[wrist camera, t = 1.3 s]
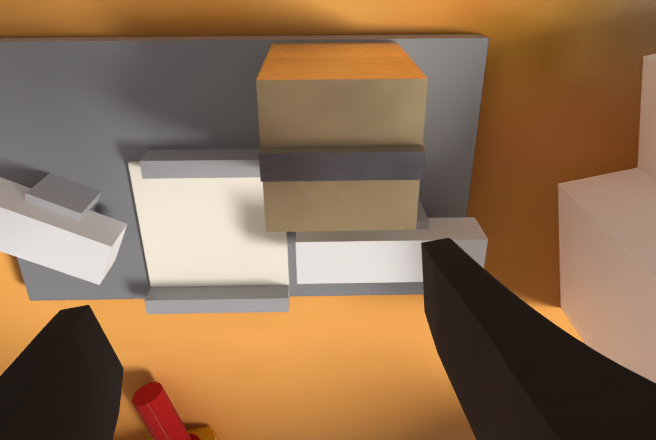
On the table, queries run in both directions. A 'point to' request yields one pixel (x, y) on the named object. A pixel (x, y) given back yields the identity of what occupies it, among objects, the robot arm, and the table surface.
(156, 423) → the mechanical clamp
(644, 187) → the corner bracket
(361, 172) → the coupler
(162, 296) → the shaft stand
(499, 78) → the table surface
